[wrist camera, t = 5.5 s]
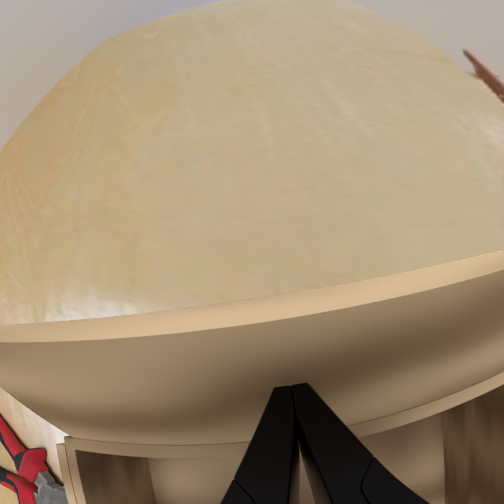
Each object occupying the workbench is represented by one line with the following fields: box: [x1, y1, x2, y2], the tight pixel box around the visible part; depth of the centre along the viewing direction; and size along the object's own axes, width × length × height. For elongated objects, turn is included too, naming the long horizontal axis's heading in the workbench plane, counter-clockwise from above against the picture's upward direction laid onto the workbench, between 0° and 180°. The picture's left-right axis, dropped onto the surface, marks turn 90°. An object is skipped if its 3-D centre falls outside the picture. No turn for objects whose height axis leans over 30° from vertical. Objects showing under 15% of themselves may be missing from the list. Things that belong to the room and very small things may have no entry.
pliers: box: [0, 416, 69, 504], centre depth 17 cm, size 3×9×22 cm
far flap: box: [0, 249, 504, 445], centre depth 9 cm, size 8×21×1 cm
